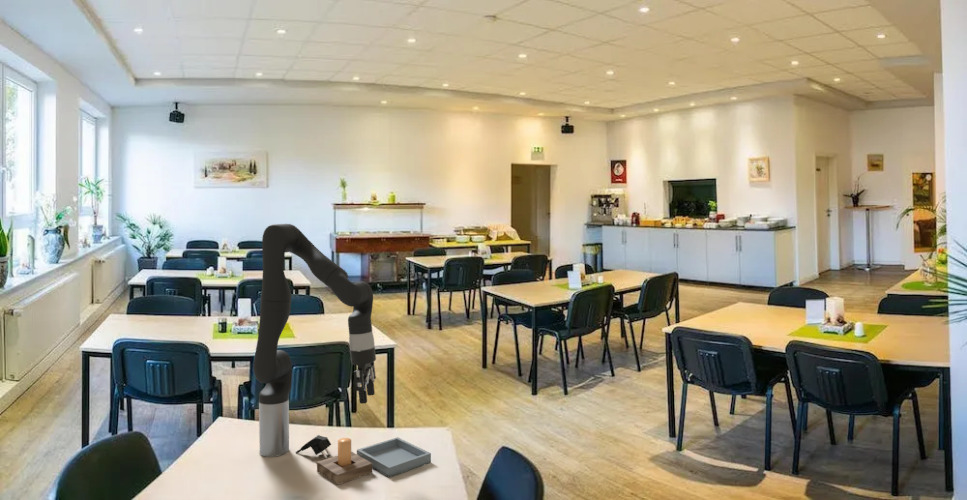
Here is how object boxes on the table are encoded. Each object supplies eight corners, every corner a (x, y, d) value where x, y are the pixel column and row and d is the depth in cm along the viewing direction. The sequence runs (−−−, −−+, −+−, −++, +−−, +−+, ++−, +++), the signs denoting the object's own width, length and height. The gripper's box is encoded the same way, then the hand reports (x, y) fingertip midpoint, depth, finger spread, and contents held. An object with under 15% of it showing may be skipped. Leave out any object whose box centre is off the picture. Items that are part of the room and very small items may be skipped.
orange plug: (335, 472, 186) (335, 440, 185) (346, 468, 188) (346, 436, 188) (342, 476, 183) (342, 443, 182) (353, 472, 185) (353, 440, 185)
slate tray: (356, 458, 195) (356, 449, 195) (397, 445, 206) (397, 437, 206) (389, 477, 182) (389, 467, 182) (430, 462, 193) (430, 453, 193)
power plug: (299, 447, 202) (326, 429, 199) (311, 466, 201) (338, 449, 199) (290, 454, 196) (318, 435, 194) (302, 474, 196) (330, 456, 193)
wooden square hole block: (317, 471, 186) (317, 461, 185) (351, 460, 194) (351, 451, 194) (337, 484, 177) (337, 474, 177) (372, 472, 185) (372, 463, 185)
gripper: (357, 343, 194) (362, 393, 195) (343, 352, 180) (348, 406, 180) (380, 341, 193) (385, 391, 194) (367, 350, 179) (373, 405, 180)
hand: (367, 399), depth 187 cm, fingers open, 8 cm apart
